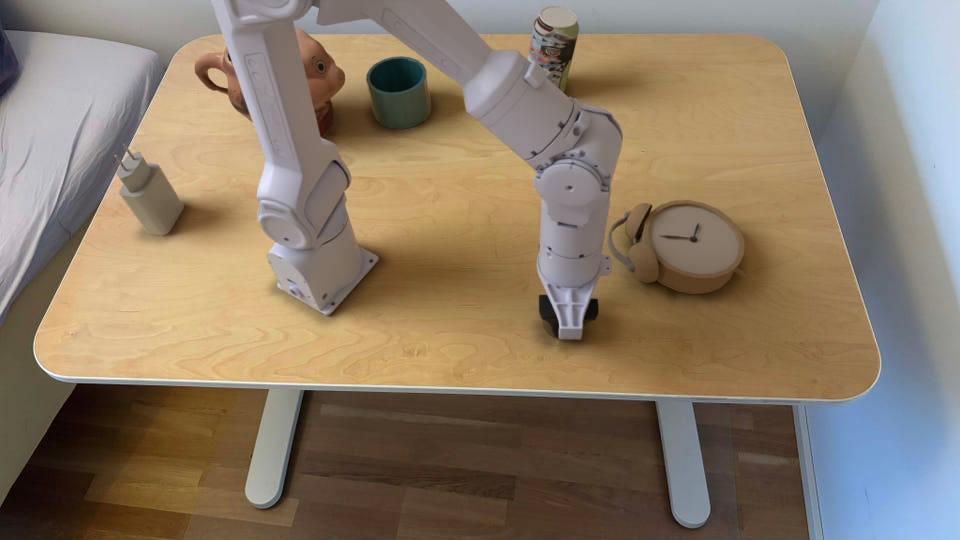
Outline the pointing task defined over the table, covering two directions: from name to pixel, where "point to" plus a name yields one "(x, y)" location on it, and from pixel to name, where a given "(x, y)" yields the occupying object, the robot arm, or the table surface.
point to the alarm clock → (681, 246)
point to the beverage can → (554, 43)
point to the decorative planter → (318, 70)
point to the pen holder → (399, 92)
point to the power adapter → (148, 194)
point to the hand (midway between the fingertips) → (563, 314)
